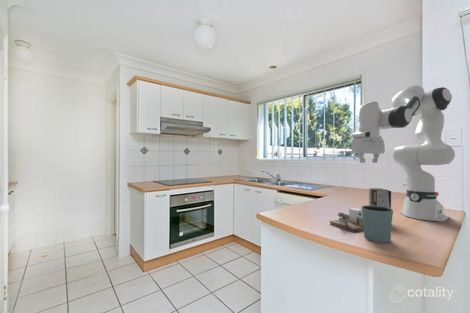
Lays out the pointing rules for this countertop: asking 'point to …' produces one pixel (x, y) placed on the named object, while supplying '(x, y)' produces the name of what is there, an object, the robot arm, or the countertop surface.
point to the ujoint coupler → (355, 215)
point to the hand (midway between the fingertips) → (368, 162)
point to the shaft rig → (347, 223)
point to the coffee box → (380, 197)
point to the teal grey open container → (377, 223)
